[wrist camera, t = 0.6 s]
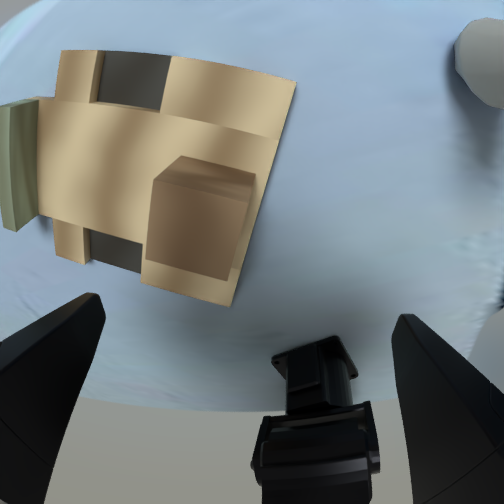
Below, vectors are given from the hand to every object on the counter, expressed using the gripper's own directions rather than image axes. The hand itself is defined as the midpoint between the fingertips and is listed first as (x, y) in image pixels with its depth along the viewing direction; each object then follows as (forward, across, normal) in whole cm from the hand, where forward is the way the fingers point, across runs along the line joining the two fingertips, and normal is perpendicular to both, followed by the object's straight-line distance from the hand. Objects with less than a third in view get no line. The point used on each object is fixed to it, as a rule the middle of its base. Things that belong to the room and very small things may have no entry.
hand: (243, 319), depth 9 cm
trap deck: (+12, +8, -1) cm, 15 cm away
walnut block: (+11, +3, +1) cm, 12 cm away
